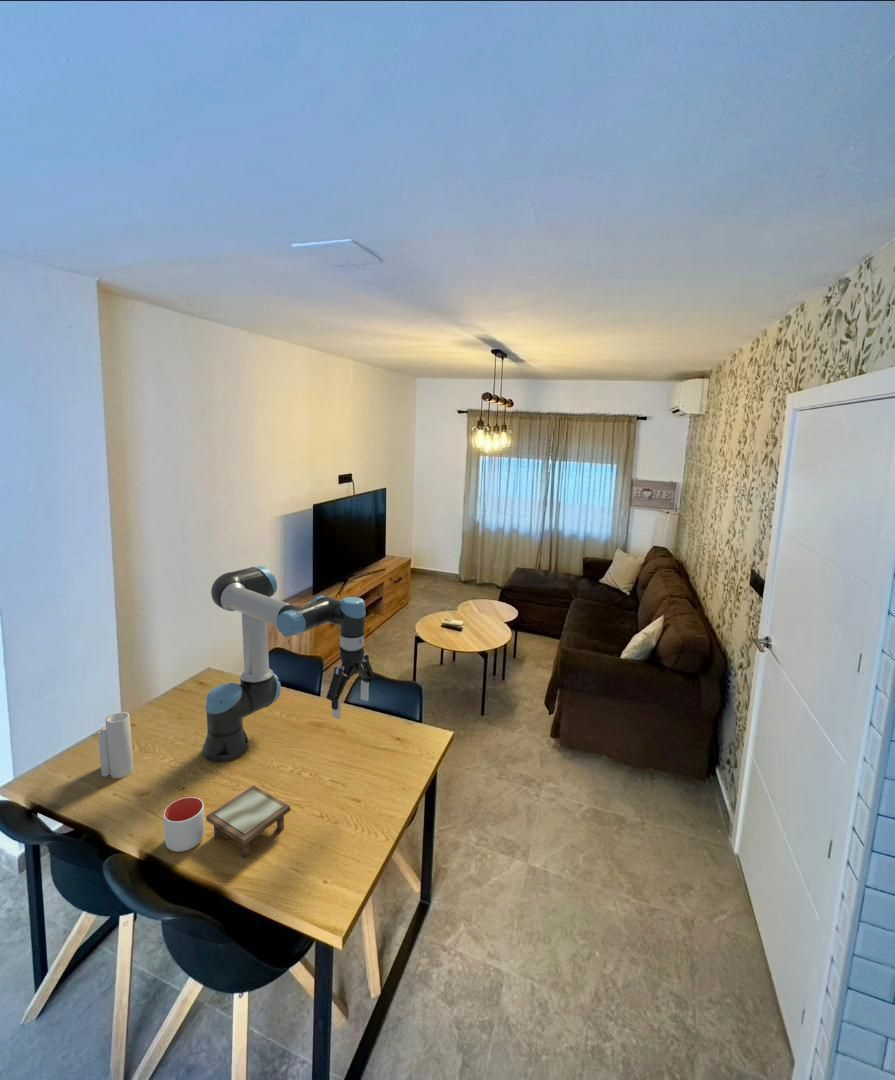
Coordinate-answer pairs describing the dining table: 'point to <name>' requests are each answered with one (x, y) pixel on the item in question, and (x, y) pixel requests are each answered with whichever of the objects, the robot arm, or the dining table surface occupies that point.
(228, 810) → the footstool
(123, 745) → the vase
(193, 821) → the cup
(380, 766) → the dining table surface
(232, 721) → the robot arm
